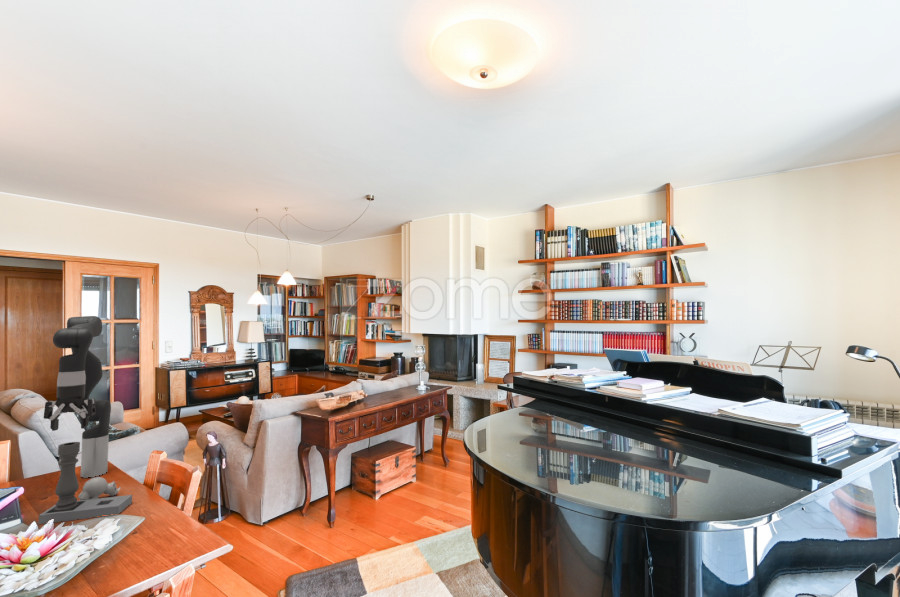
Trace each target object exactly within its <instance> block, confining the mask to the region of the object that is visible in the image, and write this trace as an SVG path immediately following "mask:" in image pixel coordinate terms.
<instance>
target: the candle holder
mask: <svg viewBox="0 0 900 597" xmlns="http://www.w3.org/2000/svg"><path fill="white" fill-rule="evenodd" d="M80 446H81V441H72V442H71V441H69V442H65V443H60V444H59V445H58V446H57V447H58V448H57V455H58V457H59V459H60V461H58V464H57V465H58V466H59V467H60V475H59V478H58V481H57V484H56V487H55V490H54V492H55V494H56V496H58V497H57V498H58V500H57V501H56V502H55V504H54V505H56V506H57V507H55V508H54V512H62V511H71V510H74V509H75V508H77V507H78V502H76V501H78V497H76V493H77V491H78V490H79V487H80V484H79V480H78V477H77V474H76V465H77V463H78V462H79V458H77V457H78V455H79V452H80V450H81V447H80Z"/></svg>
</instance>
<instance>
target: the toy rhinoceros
mask: <svg viewBox="0 0 900 597" xmlns="http://www.w3.org/2000/svg"><path fill="white" fill-rule="evenodd" d="M120 491H121V487H119V488H118V487H117V482H116V480H113V481H112V482H109V483H108V482H107V480H106V478H104V477H101V476H96V477H91V478H89V479H88V480H87V481H86V482H84V484H83V486H82V491H81V492H80V493H79V494H78V496H77V499H79V501H80V500H89V499H98V498H100V496H101V495H103V494H105V495H108V496H110V497H115V496H117V494H118V493H119V492H120ZM114 495H115V496H114Z"/></svg>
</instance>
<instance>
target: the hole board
mask: <svg viewBox="0 0 900 597" xmlns="http://www.w3.org/2000/svg"><path fill="white" fill-rule="evenodd" d="M76 502H78V507H77V508H75V509H74V510H71V511H62V512H54V508H55V507H57V506H56V505H55V504H54V505H52V506H51V507H50V508H48V509H47V510H45V511H44V512H42V513H40V514H39V515H38V525H44V524H47V523H46V522H48V521H49V520H51V519H54V523H61V521H62V522H68V521H77V519H79V520H86V519H93V518H92V517H95V518H98V517H97V516H102V515H111V514H119V513H120V512H121V513H122V512H124V510H126V509H127V508H128V507H129V506H130V505H131V504H132V503H133V494H127V495H118V496H117V495H115V496H110V497H109V496H108V497H99V498H98V499H89V500H80V499H79V500H77V501H76ZM128 505H129V506H128ZM127 506H128V507H127ZM126 507H127V508H126ZM121 513H120V514H121Z"/></svg>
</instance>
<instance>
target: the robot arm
mask: <svg viewBox="0 0 900 597" xmlns="http://www.w3.org/2000/svg"><path fill="white" fill-rule="evenodd" d="M102 332H103V322H102V319H101V317H99V316H97V315H96V316H95V315H86V316H72V317H69V318H67V321H66V328H65V327H64V328H60V329H58V330H57V331H55V332H54V334H53V337H52V343H53V345H54V346H55V347H56V348H58V349H70V350H71V353H70V354H66V355H62V356H60V358H59V360H58V362H59V363H58V374H57V380H56V381H57V382H56V400H55V401H54V400H48V401H45V403H44V411H43V419H44V420H46V419H48V420H50V427H49V428H50V430H51V431H52V432H53V431H54V432H55V431H58V429H59V426H60V424H59V423H60V422H59V420H60V419H59V417H61V415H62V414H66V413H76V414H78V415H77V416H78V419H79V421H80V429H81V430H83V429H86V428H87V427H88V426H89V425H90V424H89V423H90V422H98V424H97V425H96V426H94V427H90V428H88V429H86V430H84V431H82V434H81V456H80V478H81V477H83V478H82V479H89V478H88V477H91V478H95V476H96V477H100V476H103V475H106V474H107V473H108V464H109V462H108V460H109V439H110V438H109V436H110V434H109V433H110V423H111V422H110V421H111V414H112V413H111V412H112V405H111V401H110V400H108V399H105V400H104V399H103V400H96V398H90V395H91V394H92V392H93V390H94V389H95V388H96V386H97V385H98V384H99V382H101V380H102V378H103V367H102V366H103V365H102V362H101V360H100V359H99V358H98V357H97V355H95V354H94V353H93V352H92V351H90V350H89V348H90V346H91V345H92V342H93V340H94V338H95V337H99V336H100V335H102ZM55 406H56V407H57V409H56V410H55V411H54V407H55ZM106 472H107V473H106ZM102 474H103V475H102ZM99 475H100V476H99Z"/></svg>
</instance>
